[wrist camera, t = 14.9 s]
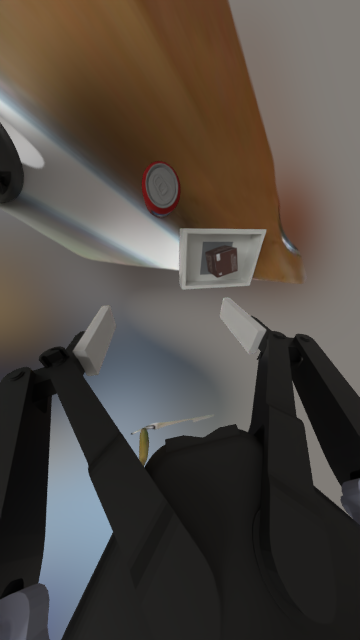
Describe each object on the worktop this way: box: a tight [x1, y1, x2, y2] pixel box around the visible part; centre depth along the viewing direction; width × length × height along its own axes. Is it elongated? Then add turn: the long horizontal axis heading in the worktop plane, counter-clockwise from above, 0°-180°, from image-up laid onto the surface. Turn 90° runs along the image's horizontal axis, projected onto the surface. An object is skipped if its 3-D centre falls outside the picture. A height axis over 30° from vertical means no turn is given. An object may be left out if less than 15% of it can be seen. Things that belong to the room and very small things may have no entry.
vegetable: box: [139, 428, 149, 466], centre depth 91 cm, size 6×6×20 cm
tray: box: [179, 228, 267, 289], centre depth 40 cm, size 22×15×5 cm
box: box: [205, 245, 238, 278], centre depth 38 cm, size 6×6×7 cm
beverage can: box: [142, 161, 180, 218], centre depth 27 cm, size 7×7×12 cm
